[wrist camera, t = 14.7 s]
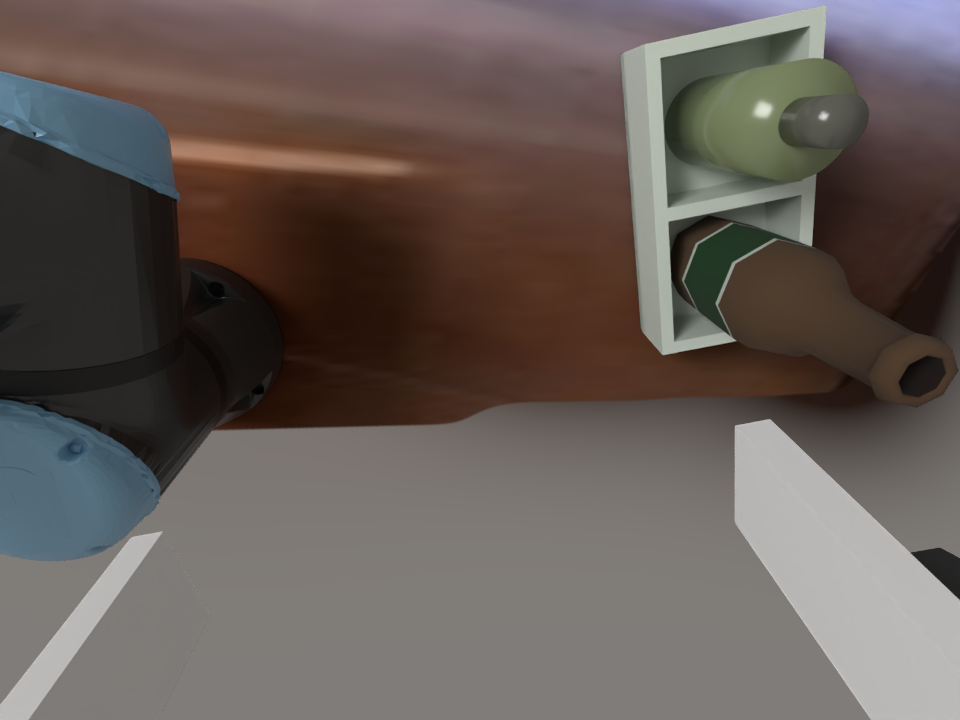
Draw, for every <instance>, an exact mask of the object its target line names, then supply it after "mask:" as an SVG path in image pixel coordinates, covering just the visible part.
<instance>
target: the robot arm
mask: <svg viewBox="0 0 960 720" xmlns="http://www.w3.org/2000/svg"><path fill="white" fill-rule="evenodd" d="M177 201H180V194H179V192H178V191H177V190H176V189H175V182H174V173H173V163H172V154H171V145H170V140H169V137H168V134H167V132H166V130H165V129H164V127H163V125H162V124H161V123H160V122H159V121H158V120H157V119H156V118H155V117H154V116H153V115H152V114H151V113H149V112H148V111H146V110H144V109H143V108H140V107H138V106H135V105H132V104H129V103H125V102H121V101H117V100H113V99H110V98H106V97H102V96H98V95H94V94H90V93H86V92H82V91H78V90H74V89H70V88H66V87H62V86H58V85H54V84H50V83H46V82H42V81H38V80H34V79H30V78H26V77H22V76H18V75H14V74H10V73H6V72H1V71H0V554H4V555H8V556H12V557H17V558H22V559H29V560H37V561H65V560H74V559H80V558H84V557H89V556H92V555H95V554H98V553H100V552H103V551H105V550H106V549H108V548H109V547H111V546H113V545H115V544H116V543H117V542H119V541H121V540H122V539H123V538H124V537H126V536H127V535H128V534H129V533H130V531H131V530H132V529H133V528H134V527H135V526H136V525H137V524H138V523H139V522H140V521H141V520H142V519H143V518H144V517H146V516H147V515H149V514H150V513H151V512H152V511H153V510H154V509H155V507H156V505H157V504H158V503H159V502H158V500H159V499H160V497H161V495H162V494H163V493H164V492H165V490H166V489H167V488H168V487H169V485H170V484H171V483H172V481H173V480H174V479H175V478H176V476H177V475H178V474H179V472H180V471H181V470H182V469H183V467H184V466H185V465H186V463H187V462H188V461H189V460H190V458H191V457H192V456H193V454H194V453H195V452H196V451H197V449H198V448H199V447H200V445H201V444H202V443H203V441H204V440H205V439H206V438H207V436H208V435H209V434H210V432H211V431H212V430H213V429H214V428H215V427H217V426H219V425H221V424H224V423H226V422H228V421H230V420H232V419H235V418H237V417H239V416H241V415H243V414H245V413H246V412H248V411H249V410H251V409H252V408H253V407H254V406H256V405H257V404H258V403H259V402H260V401H261V400H262V399H263V398H264V396H265V395H266V394H267V392H268V391H269V389H270V388H271V387H272V385H273V384H274V382H275V380H276V379H277V377H278V374H279V372H280V369H281V365H282V360H283V340H282V334H281V330H280V327H279V324H278V322H277V319H276V317H275V315H274V313H273V311H272V310H271V308H270V307H269V305H268V304H267V302H266V301H265V300H264V298H263V297H262V296H261V295H260V294H259V293H258V292H257V291H256V290H255V289H254V288H253V287H252V286H251V285H250V284H249V283H248V282H246V281H245V280H244V279H242V278H241V277H239V276H238V275H236V274H235V273H233V272H231V271H229V270H227V269H225V268H223V267H221V266H218V265H216V264H213V263H210V262H206V261H203V260H198V259H191V258H180V250H179V234H178V218H177ZM735 524H736V525H737V527H738V528H739V529H740V531H741V532H742V534H743V535H744V537H745V538H746V540H747V541H748V542H749V544H750V545H751V547H752V548H753V550H754V551H755V552H756V554H757V555H758V557H759V558H760V560H761V561H762V563H763V564H764V566H765V567H766V568H767V570H768V571H769V573H770V574H771V576H772V577H773V579H774V580H775V581H776V583H777V584H778V586H779V587H780V589H781V590H782V592H783V593H784V594H785V596H786V597H787V599H788V600H789V602H790V603H791V605H792V606H793V607H794V609H795V610H796V612H797V613H798V615H799V616H800V618H801V619H802V621H803V622H804V623H805V625H806V626H807V628H808V629H809V631H810V632H811V633H812V635H813V636H814V638H815V639H816V641H817V642H818V644H819V645H820V647H821V648H822V649H823V651H824V652H825V654H826V655H827V657H828V658H829V660H830V661H831V662H832V664H833V665H834V667H835V668H836V670H837V671H838V673H839V674H840V675H841V677H842V678H843V680H844V681H845V683H846V684H847V686H848V687H849V689H850V690H851V691H852V693H853V694H854V696H855V697H856V699H857V700H858V702H859V703H860V704H861V706H862V707H863V709H864V710H865V712H866V713H867V714H868V716H869V717H870V719H871V720H960V558H958V557H956V556H955V555H953V554H951V553H949V552H947V551H945V550H943V549H941V548H935V549H929V550H923V551H918V552H912V553H910V552H909V551H908V550H907V549H906V548H904V547H903V546H902V545H901V544H900V543H899V542H898V541H897V540H896V539H895V538H894V537H893V536H892V535H891V534H890V533H889V532H888V531H887V530H886V529H885V528H884V527H882V526H881V525H880V524H879V523H878V522H877V521H876V520H875V519H874V518H873V517H872V516H871V515H870V514H869V513H868V512H867V511H866V510H865V509H864V508H863V507H861V506H860V505H859V504H858V503H857V502H856V501H855V500H854V499H853V498H852V497H851V496H850V495H849V494H848V493H847V492H846V491H845V490H844V489H843V488H841V486H839V485H838V484H837V483H836V482H835V481H834V480H833V479H832V478H831V477H830V476H829V475H828V474H827V473H826V472H825V471H824V470H823V469H822V468H821V467H820V466H818V465H817V464H816V463H815V462H814V461H813V460H812V459H811V458H810V457H809V456H808V455H807V454H806V453H805V452H804V451H803V450H802V449H801V448H800V447H799V446H797V445H796V444H795V443H794V442H793V441H792V440H791V439H790V438H789V437H788V436H787V435H786V434H785V433H784V432H783V431H782V430H781V429H780V428H779V427H777V425H776V424H774V423H773V422H772V421H771V420H770V419H769V420H763V421H758V422H752V423H747V424H742V425H737V426H735ZM209 617H210V614H209V612H208V610H207V608H206V607H205V605H204V603H203V601H202V600H201V598H200V596H199V594H198V592H197V591H196V589H195V587H194V585H193V584H192V582H191V580H190V578H189V576H188V575H187V573H186V571H185V569H184V568H183V566H182V564H181V562H180V560H179V559H178V557H177V555H176V553H175V552H174V550H173V548H172V546H171V545H170V543H169V541H168V539H167V537H166V536H165V534H164V532H163V531H162V532H157V533H151V534H146V535H141V536H135V537H131V538H130V540H129V541H128V542H127V544H126V545H125V546H124V547H123V549H122V550H121V551H120V552H119V554H118V555H117V556H116V557H115V559H114V560H113V561H112V563H111V564H110V565H109V567H108V568H107V569H106V570H105V572H104V573H103V574H102V575H101V577H100V578H99V579H98V581H97V582H96V583H95V584H94V586H93V587H92V588H91V590H90V591H89V592H88V594H87V595H86V596H85V597H84V598H83V600H82V601H81V602H80V604H79V605H78V606H77V607H76V609H75V610H74V611H73V613H72V614H71V615H70V616H69V618H68V619H67V620H66V621H65V623H64V624H63V625H62V627H61V628H60V629H59V630H58V632H57V633H56V634H55V636H54V637H53V638H52V639H51V641H50V642H49V643H48V645H47V646H46V647H45V648H44V650H43V651H42V652H41V653H40V655H39V656H38V657H37V659H36V660H35V661H34V663H33V664H32V665H31V666H30V668H29V669H28V670H27V671H26V673H25V674H24V675H23V677H22V678H21V679H20V680H19V682H18V683H17V684H16V686H15V687H14V688H13V689H12V691H11V692H10V693H9V694H8V696H7V697H6V698H5V700H4V701H3V702H2V703H1V705H0V720H159V718H160V716H161V714H162V712H163V710H164V708H165V706H166V704H167V701H168V700H169V697H170V696H171V694H172V691H173V690H174V688H175V685H176V684H177V682H178V680H179V678H180V676H181V674H182V672H183V669H184V668H185V666H186V664H187V661H188V659H189V657H190V655H191V653H192V651H193V649H194V647H195V645H196V643H197V641H198V639H199V637H200V635H201V633H202V631H203V629H204V627H205V625H206V623H207V621H208V619H209Z"/></svg>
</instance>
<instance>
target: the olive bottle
mask: <svg viewBox="0 0 960 720" xmlns="http://www.w3.org/2000/svg"><path fill="white" fill-rule="evenodd" d="M868 118H869V111H868V106H867V104H866V102H865V101H864V99H863V98H861V97H860V96H858V95H857V91H856V87H855V85H854V82H853V80H852V78H851V77H850V75H849V74H848V73H847V72H846V70H845V69H844V68H842V67H841V66H840V65H838V64H836V63H835V62H833V61H830V60H827V59H821V58H809V59H802V60H797V61H791V62H786V63H780V64H775V65H769V66H764V67H758V68H753V69H747V70H742V71H736V72H731V73H725V74H720V75H714V76H709V77H704V78H700V79H697V80H695V81H693V82H691V83H690V84H688V85H687V86H685V87H684V88H683V89H682V90H681V91H680V92H679V93H678V94H677V95H676V97H675V98H674V100H673V101H672V103H671V105H670V107H669V109H668V112H667V115H666V119H665V137H666V141H667V144H668V146H669V148H670V150H671V151H672V153H673V154H674V155H675V156H676V157H677V158H678V159H680V160H681V161H683V162H685V163H688V164H691V165H697V166H702V167H708V168H713V169H719V170H724V171H730V172H735V173H741V174H747V175H752V176H758V177H763V178H769V179H774V180H780V181H796V180H801V179H805V178H808V177H810V176H812V175H814V174H816V173H818V172H820V171H821V170H823V169H824V168H826V167H827V166H828V165H829V164H830V163H832V162H833V161H834V160H835V159H836V158H837V157H838V155H839V154H840V153H841V152H842V150H843V149H844V148H846V147H848V146H850V145H852V144H853V143H854V142H855V141H857V140H858V139H859V137H860V136H861V135H862V133H863V132H864V130H865V128H866V126H867V123H868Z"/></svg>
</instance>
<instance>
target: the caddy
mask: <svg viewBox="0 0 960 720" xmlns="http://www.w3.org/2000/svg"><path fill="white" fill-rule="evenodd" d="M826 7H827V5H824V6H820V7H815V8H811V9H806V10H801V11H797V12H792V13H787V14H783V15H778V16H773V17H769V18H764V19H760V20H755V21H750V22H746V23H741V24H736V25H732V26H727V27H723V28H718V29H713V30H709V31H704V32H699V33H695V34H690V35H686V36H681V37H676V38H672V39H667V40H662V41H658V42H653V43H649V44H644V45H642V46H639V47H637V48H634V49H632V50H629V51H627V52H625V53H622V54H620V57H621V70H622V83H623V97H624V110H625V123H626V136H627V150H628V163H629V176H630V189H631V203H632V216H633V229H634V243H635V256H636V269H637V282H638V296H639V309H640V322H641V331H642V332H643V333H644V334H645V335H646V337H647V338H648V339H649V340H650V341H651V342H652V343H653V345H654V346H655V347H656V348H657V349H658V350H659V351H660V353H661V354H662V355H666V354H671V353H677V352H682V351H687V350H692V349H697V348H703V347H708V346H713V345H718V344H724V343H729V342H734V341H736V340H734V339H733V338H732V337H730V336H729V335H728V334H727V333H725V332H724V331H723V330H722V329H720V328H719V327H718V326H717V325H715V324H714V323H713V322H711V321H710V320H709V319H708V318H706V317H705V316H704V315H703V314H701V313H700V312H699V311H698V310H696V309H695V308H694V307H693V306H691V305H690V304H689V303H687V302H686V301H685V300H684V299H683V298H682V297H681V296H680V295H679V294H678V292H677V290H676V288H675V286H674V284H673V282H672V280H671V267H670V252H671V249H672V247H673V244H674V241H675V238H676V236H677V234H678V233H680V232H681V231H683V230H685V229H686V228H688V227H690V226H691V225H693V224H695V223H696V222H698V221H700V220H701V219H703V218H705V217H706V216H708V215H711V216H715V217H719V218H723V219H728V220H732V221H736V222H740V223H745V224H749V225H753V226H755V227H758V228H761V229H764V230H767V231H769V232H772V233H775V234H778V235H781V236H783V237H786V238H789V239H792V240H795V241H797V242H800V243H803V244H806V245H809V246H812V237H813V220H814V204H815V188H816V174H814V175H812V176H810V177H808V178H805V179H801V180H796V181H780V180H774V179H769V178H763V177H758V176H752V175H747V174H741V173H735V172H730V171H724V170H719V169H713V168H708V167H702V166H697V165H691V164H688V163H685V162H683V161H681V160H680V159H678V158H677V157H676V156H675V155H674V154H673V153H672V151H671V150H670V148H669V146H668V144H667V141H666V137H665V119H666V115H667V112H668V109H669V107H670V105H671V103H672V101H673V100H674V98H675V97H676V95H677V94H678V93H679V92H680V91H681V90H682V89H683V88H684V87H685V86H687V85H688V84H690V83H691V82H693V81H695V80H697V79H700V78H704V77H709V76H714V75H720V74H725V73H731V72H736V71H742V70H747V69H753V68H758V67H764V66H769V65H775V64H780V63H786V62H791V61H797V60H802V59H809V58H821V59H823V57H824V40H825V24H826Z"/></svg>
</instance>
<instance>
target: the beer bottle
mask: <svg viewBox="0 0 960 720" xmlns="http://www.w3.org/2000/svg"><path fill="white" fill-rule="evenodd" d="M670 267H671V280H672V282H673V284H674V286H675V288H676V290H677V292H678V294H679V295H680V296H681V297H682V298H683V299H684V300H685V301H686V302H687V303H689V304H690V305H691V306H693V307H694V308H695V309H696V310H698V311H699V312H700V313H701V314H703V315H704V316H705V317H706V318H708V319H709V320H710V321H711V322H713V323H714V324H715V325H717V326H718V327H719V328H720V329H722V330H723V331H724V332H725V333H727V334H728V335H729V336H730V337H732V338H733V339H734V340H736V341H738V342H740V343H741V344H743V345H745V346H746V347H748V348H753V349H758V350H763V351H768V352H773V353H778V354H783V355H788V356H795V357H802V356H805V355H809V354H811V355H813V356H815V357H817V358H818V359H820V360H822V361H824V362H826V363H828V364H829V365H831V366H833V367H835V368H837V369H839V370H841V371H842V372H844V373H846V374H848V375H850V376H852V377H854V378H855V379H858V380H859V381H861V382H863V383H865V384H867V385H868V386H870V387H872V388H873V391H874V393H875V396H876V398H877V399H881V400H885V401H888V402H892V403H896V404H901V405H906V406H911V407H916V408H917V407H919V406H921V405H923V404H925V403H927V402H929V401H931V400H933V399H935V398H937V397H939V396H941V395H943V394H944V392H945V391H946V389H947V388H948V386H949V384H950V383H951V381H952V380H953V378H954V377H955V375H956V374H957V372H958V368H957V364H956V361H955V358H954V354H953V350H952V349H951V348H950V347H949V346H948V345H947V344H946V343H945V342H944V341H943V340H942V339H941V338H936V337H931V336H927V335H922V334H917V333H914V332H912V331H910V330H909V329H907V328H905V327H903V326H902V325H900V324H898V323H896V322H894V321H893V320H891V319H889V318H887V317H886V316H884V315H882V314H880V313H878V312H877V311H875V310H873V309H871V308H870V307H868V306H866V305H864V304H862V303H861V302H860V301H859V300H857V299H856V298H855V297H854V296H853V295H852V293H851V290H850V287H849V285H848V282H847V279H846V276H845V273H844V270H843V269H842V268H841V266H840V265H839V263H838V262H837V260H836V259H835V257H833V256H831V255H829V254H827V253H825V252H823V251H821V250H819V249H817V248H814V247H812V246H809V245H806V244H803V243H800V242H797V241H795V240H792V239H789V238H786V237H783V236H781V235H778V234H775V233H772V232H769V231H767V230H764V229H761V228H758V227H755V226H753V225H749V224H745V223H740V222H736V221H732V220H728V219H723V218H719V217H715V216H711V215H708V216H706V217H705V218H703V219H701V220H700V221H698V222H696V223H695V224H693V225H691V226H690V227H688V228H686V229H685V230H683V231H681V232H680V233H678V234H677V236H676V238H675V241H674V244H673V247H672V249H671V252H670Z"/></svg>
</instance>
